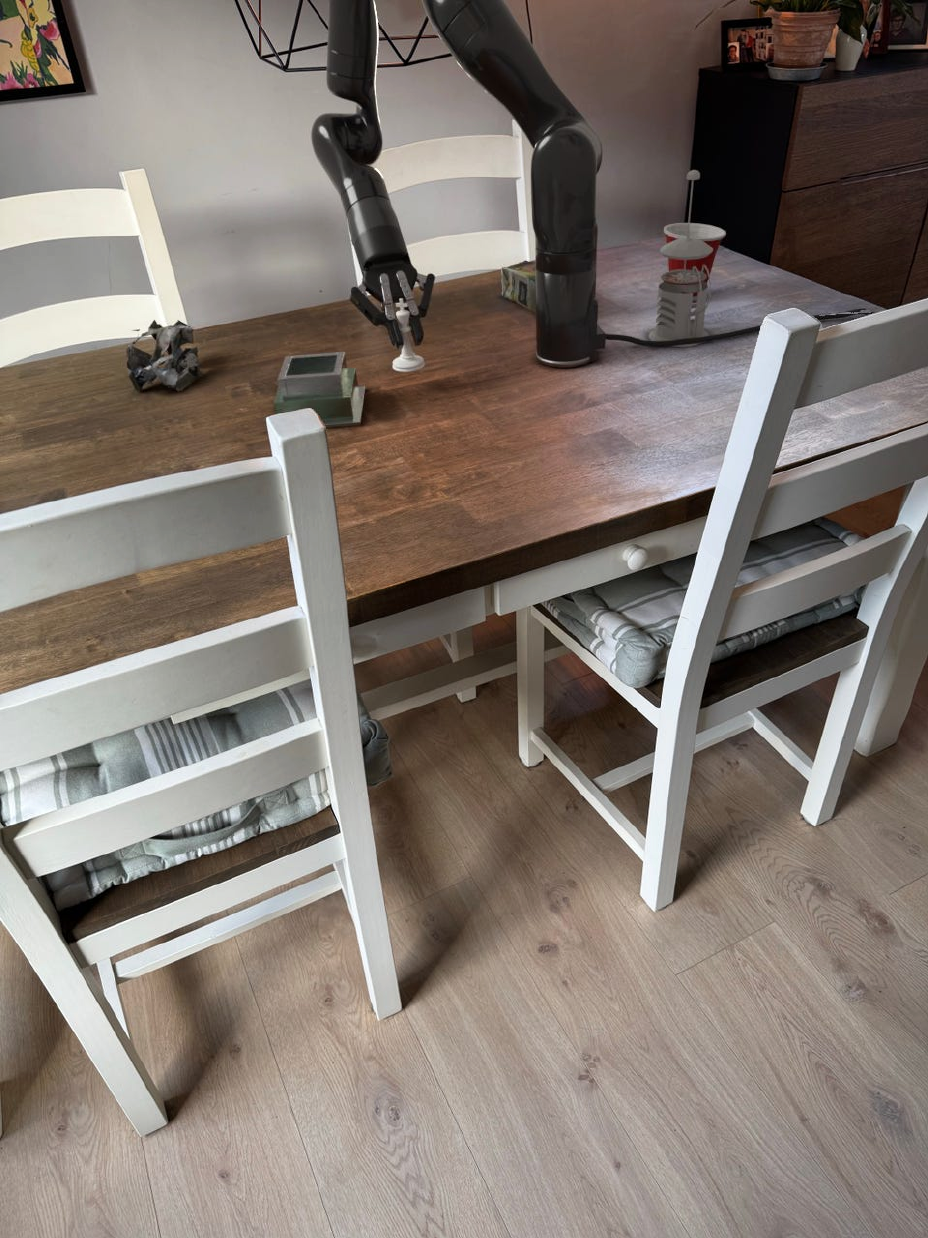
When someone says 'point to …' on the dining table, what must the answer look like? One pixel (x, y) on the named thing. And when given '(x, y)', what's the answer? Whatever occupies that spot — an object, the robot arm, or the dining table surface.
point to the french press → (683, 289)
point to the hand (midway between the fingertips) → (409, 344)
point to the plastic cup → (696, 231)
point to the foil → (165, 358)
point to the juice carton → (520, 284)
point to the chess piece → (406, 344)
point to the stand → (321, 388)
